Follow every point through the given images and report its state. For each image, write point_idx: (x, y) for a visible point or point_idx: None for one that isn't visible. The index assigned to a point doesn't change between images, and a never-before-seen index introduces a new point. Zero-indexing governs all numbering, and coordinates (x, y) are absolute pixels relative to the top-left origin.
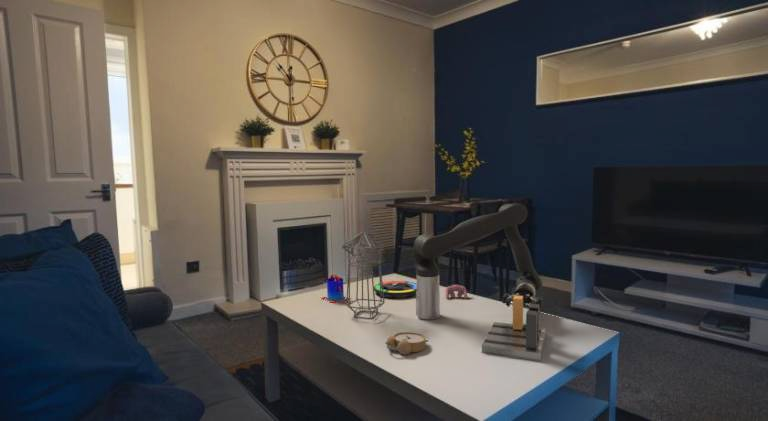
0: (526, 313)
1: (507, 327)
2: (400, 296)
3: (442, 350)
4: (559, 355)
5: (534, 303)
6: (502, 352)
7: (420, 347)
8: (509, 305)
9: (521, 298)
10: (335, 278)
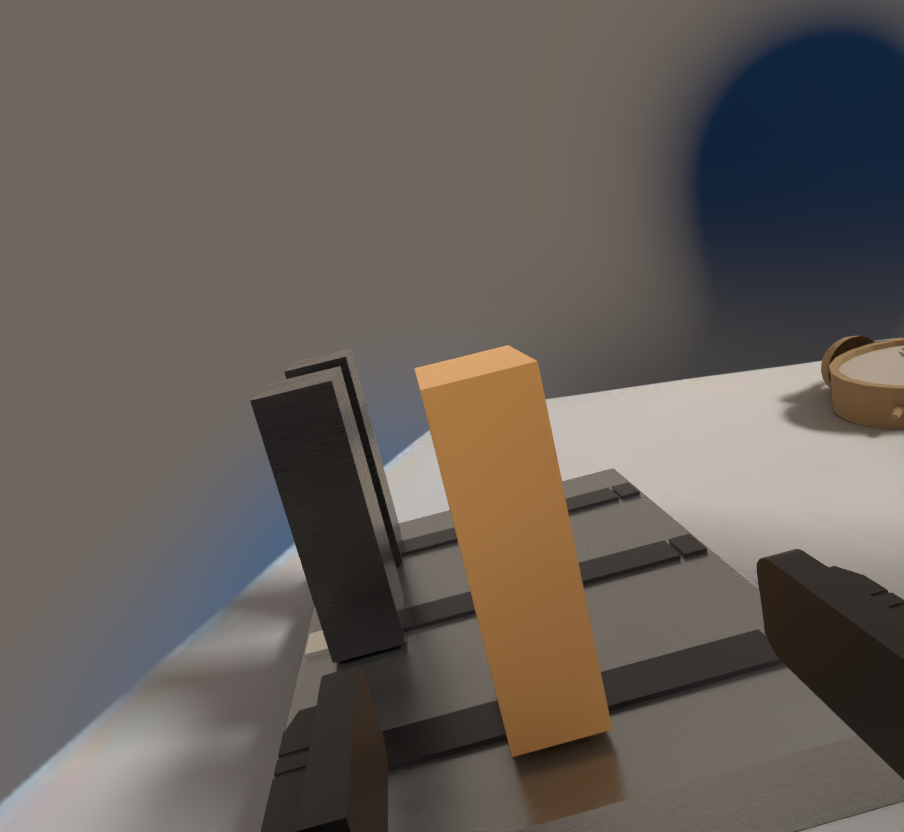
0: (349, 349)
1: (644, 663)
2: None
3: (779, 446)
4: (232, 663)
5: (303, 756)
6: None
7: (833, 395)
8: (797, 663)
9: (422, 370)
10: None
